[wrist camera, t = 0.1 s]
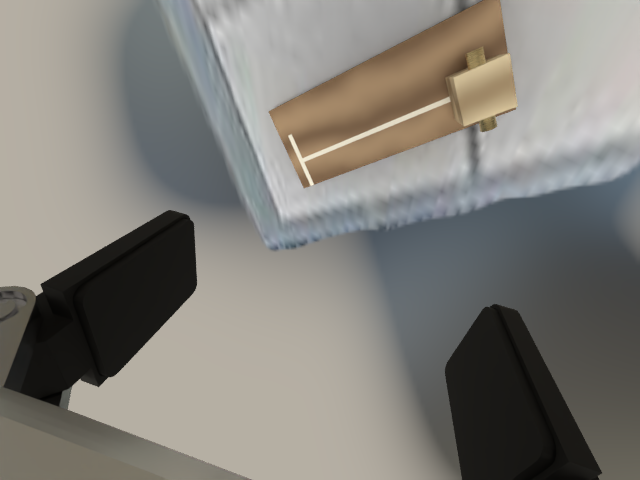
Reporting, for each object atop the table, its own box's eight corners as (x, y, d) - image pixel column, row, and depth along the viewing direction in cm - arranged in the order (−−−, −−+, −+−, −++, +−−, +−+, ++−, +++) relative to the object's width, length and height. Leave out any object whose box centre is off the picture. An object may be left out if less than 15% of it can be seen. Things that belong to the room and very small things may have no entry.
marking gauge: (442, 64, 34) (450, 62, 29) (489, 42, 32) (507, 35, 27) (457, 131, 37) (467, 139, 32) (501, 114, 35) (519, 121, 30)
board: (274, 109, 43) (268, 111, 41) (491, -3, 32) (498, -8, 30) (308, 183, 47) (303, 188, 45) (508, 107, 36) (515, 109, 34)
